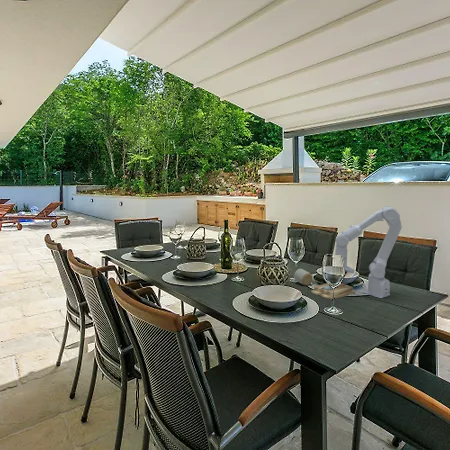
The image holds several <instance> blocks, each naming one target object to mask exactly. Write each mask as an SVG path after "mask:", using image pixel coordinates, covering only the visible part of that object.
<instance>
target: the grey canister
mask: <svg viewBox="0 0 450 450" xmlns="http://www.w3.org/2000/svg"><path fill="white" fill-rule="evenodd" d="M293 279H294V281H295V282H297V283H299V284H301V285H302V286H309V285H310V284H315V281H316V280H315V279H313V275H312V274H311V273H310V272H308V271H307V270H305V269H303V268H298V269H297V270H296V271H295V272H294V274H293Z"/></svg>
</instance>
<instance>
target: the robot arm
mask: <svg viewBox="0 0 450 450" xmlns="http://www.w3.org/2000/svg"><path fill="white" fill-rule="evenodd" d="M400 217H401V215H400V214H399V212H398V211H397V209H396V208H394V207H391V206H387V205H386V206H384V207H382V208H381V209H378V210H376V211H375V212H374V213H372V214H371V215H369V217H367V218H365V219H364V220H363V221H362V222H360V223H358V224H353V225H352V224H351V225H349V228H347V229H346V230H345V231H341V233H339V234H337V236H336V237H335V243H336V244H335V252H334V253H335V254H334V256H335V255H341V256H342V257H343V261H344V270H345V275H344V278H343V280H342V282H341V284H342V283H344V279H345V276H346V275H347V273H349V274H353V273H355V269H354V268H352V267H349V266H348V245H349V243H350V242H352V241H354V240H355V239H356V238H358V237H359V236H361V235H362V233H363V230H365V229H366V228H368V227H370V226H371V225H373V224H375V223H376V222H384V220H385V222H386V224H387V225H388V229H387V232H386V235H385V237H384V239H383V242H382V244H381V246H380V248H379V251H378V253H377V255H376V257H374V259H373V261H372V262H371V263H370V264H369V265H368V270H369V274H368V281H367V283H368V284H367V290H366V291H364V292H363V293H364V294H366V295H368V296H369V295H370V296H372V297H375V298H378V299H383V298H387V297H389V296H391V294H390V290H391V287H390V286H391V282H390V280H389V279H387V278H385V275H386V268H387V262H388V259H389V257H390V255H391V254H392V253H391V252H392V251H393V249H394V245H395V244H396V241H397V240H398V237H399V235H400V233H401V231H402V228H403V226H402V221H401V218H400Z"/></svg>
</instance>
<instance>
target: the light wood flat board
mask: <svg viewBox="0 0 450 450" xmlns="http://www.w3.org/2000/svg"><path fill="white" fill-rule="evenodd" d="M323 286H329V285H328V284H327V283H324V284H319V285H316V286H313V289H312V290H311V293H312V294H314V295H317V296H320V297H323V298H325V299H328V300H331V301H333V300H336V299H340V298H342V297H347V296H350V295H353V294H356V290H354V288H353V286H351V285H347V284H344V283H343V286H342V287H339V286H338V287H337V288H335V289H334V298H335V299H333V290H332V288H330V290H328V291H327V290H324V289H323ZM352 293H353V294H352ZM349 294H350V295H349ZM346 295H347V296H346ZM332 299H333V300H332Z"/></svg>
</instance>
